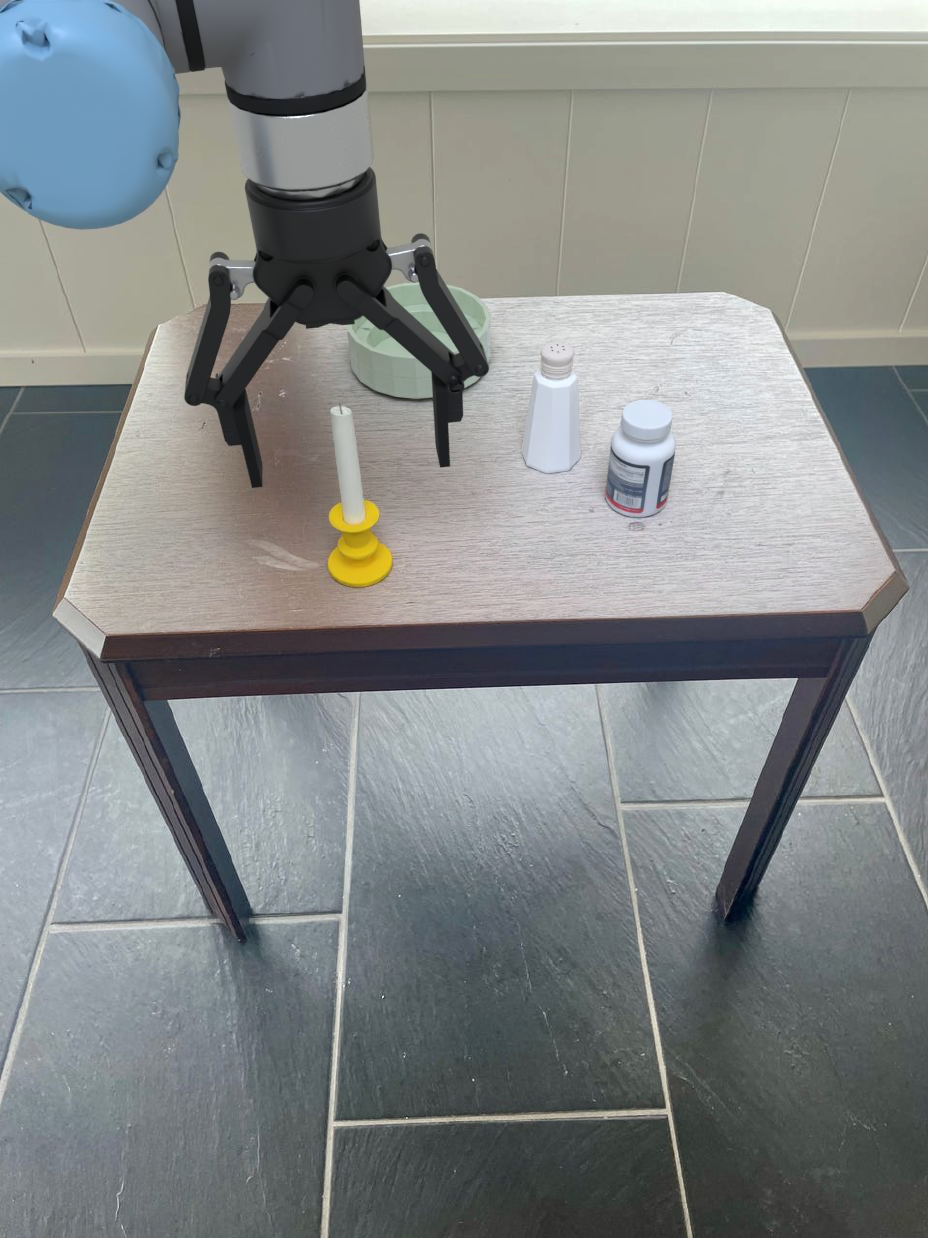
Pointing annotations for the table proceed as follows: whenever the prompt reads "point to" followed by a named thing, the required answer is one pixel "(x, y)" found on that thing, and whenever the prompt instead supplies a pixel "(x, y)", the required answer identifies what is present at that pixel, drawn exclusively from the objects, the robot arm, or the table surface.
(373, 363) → the bowl
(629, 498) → the pill bottle
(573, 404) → the pepper shaker
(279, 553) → the table surface
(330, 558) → the candle
